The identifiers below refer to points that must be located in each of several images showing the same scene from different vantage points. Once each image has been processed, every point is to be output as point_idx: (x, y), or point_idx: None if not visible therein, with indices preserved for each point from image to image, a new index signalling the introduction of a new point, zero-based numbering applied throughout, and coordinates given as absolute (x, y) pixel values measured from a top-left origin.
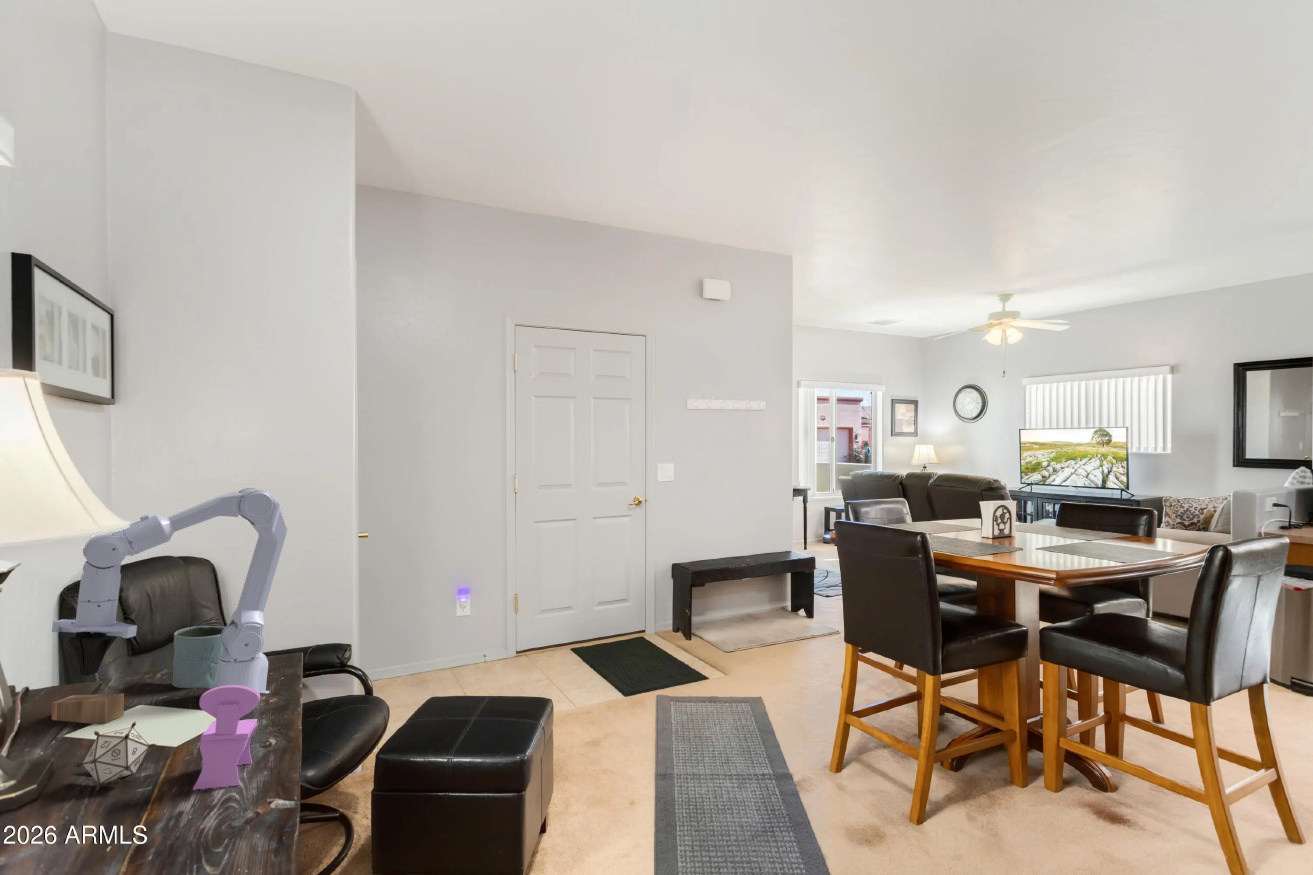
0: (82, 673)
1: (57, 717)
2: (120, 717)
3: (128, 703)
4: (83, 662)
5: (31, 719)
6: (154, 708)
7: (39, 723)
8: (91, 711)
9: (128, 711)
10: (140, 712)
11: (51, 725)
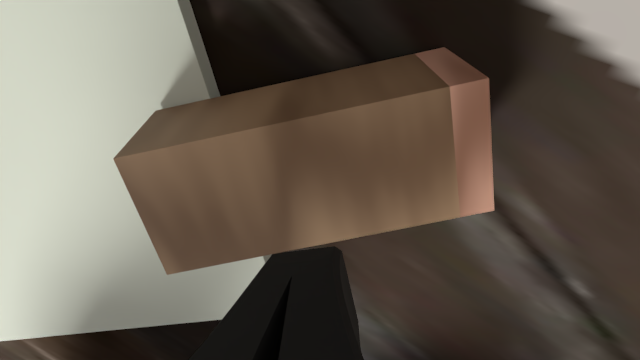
0: (313, 255)
1: (420, 63)
2: None
3: (394, 330)
4: (285, 336)
5: (620, 64)
6: (194, 303)
7: (527, 41)
8: (214, 114)
9: None
10: None
11: (443, 46)
